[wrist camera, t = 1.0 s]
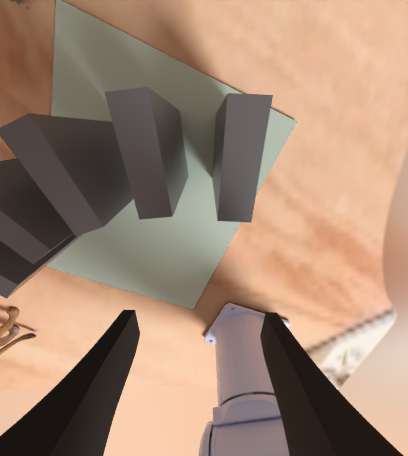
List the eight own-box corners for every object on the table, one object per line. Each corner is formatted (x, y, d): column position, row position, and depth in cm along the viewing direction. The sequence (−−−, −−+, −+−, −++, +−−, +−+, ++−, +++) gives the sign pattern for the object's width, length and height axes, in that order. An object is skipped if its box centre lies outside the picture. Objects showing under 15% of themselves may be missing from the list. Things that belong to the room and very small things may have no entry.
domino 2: (76, 149, 16) (-53, 168, 8) (120, 196, 18) (50, 250, 10) (64, 161, 17) (-69, 190, 8) (108, 206, 18) (33, 264, 10)
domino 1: (122, 122, 15) (29, 113, 7) (151, 182, 17) (103, 226, 9) (105, 130, 15) (-4, 129, 7) (135, 188, 18) (76, 236, 9)
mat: (295, 122, 15) (297, 121, 15) (192, 308, 25) (192, 309, 25) (59, 0, 12) (55, -3, 12) (46, 265, 22) (44, 266, 22)
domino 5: (236, 114, 15) (272, 95, 7) (229, 179, 17) (251, 222, 9) (216, 113, 15) (227, 93, 7) (212, 178, 17) (217, 221, 9)
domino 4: (179, 110, 15) (148, 86, 7) (188, 176, 17) (172, 216, 9) (159, 113, 15) (104, 92, 7) (170, 178, 17) (139, 219, 9)
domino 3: (50, 183, 17) (-84, 227, 9) (97, 220, 19) (18, 285, 11) (41, 194, 18) (-92, 246, 10) (88, 229, 20) (6, 298, 11)
